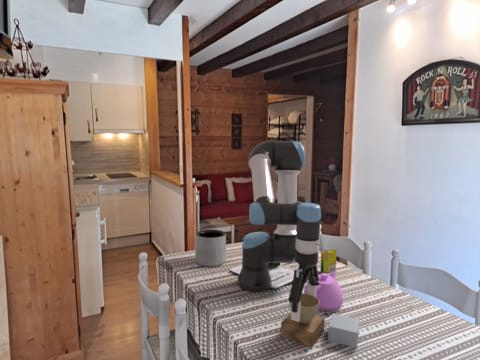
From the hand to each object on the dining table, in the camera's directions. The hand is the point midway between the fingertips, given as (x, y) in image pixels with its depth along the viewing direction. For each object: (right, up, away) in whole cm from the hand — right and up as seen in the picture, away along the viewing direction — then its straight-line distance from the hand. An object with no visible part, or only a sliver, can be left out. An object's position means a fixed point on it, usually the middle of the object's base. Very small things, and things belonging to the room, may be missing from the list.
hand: (303, 311), depth 113 cm
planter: (-37, +1, +64) cm, 74 cm away
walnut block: (0, -8, +1) cm, 8 cm away
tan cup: (0, -3, 0) cm, 3 cm away
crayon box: (+23, -2, +55) cm, 60 cm away
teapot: (+12, -6, +23) cm, 27 cm away
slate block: (+13, -8, 0) cm, 16 cm away
